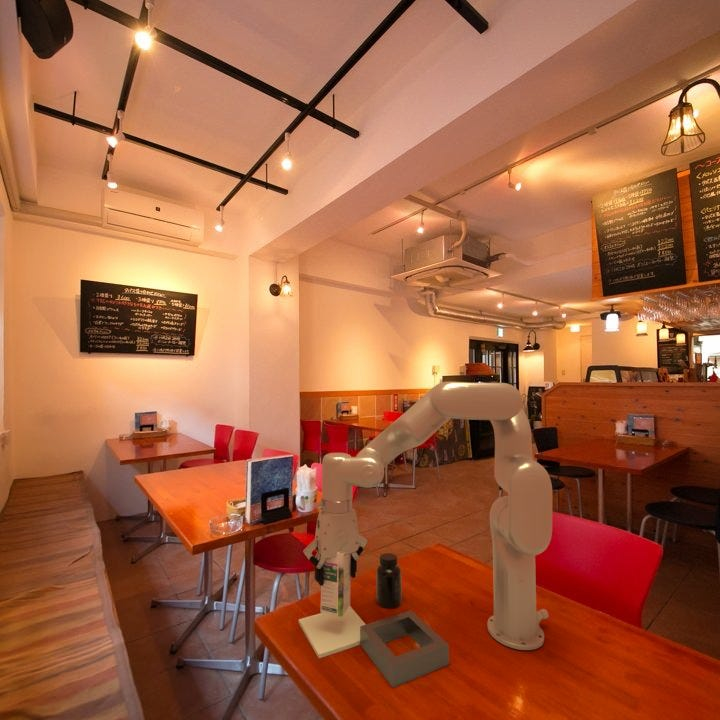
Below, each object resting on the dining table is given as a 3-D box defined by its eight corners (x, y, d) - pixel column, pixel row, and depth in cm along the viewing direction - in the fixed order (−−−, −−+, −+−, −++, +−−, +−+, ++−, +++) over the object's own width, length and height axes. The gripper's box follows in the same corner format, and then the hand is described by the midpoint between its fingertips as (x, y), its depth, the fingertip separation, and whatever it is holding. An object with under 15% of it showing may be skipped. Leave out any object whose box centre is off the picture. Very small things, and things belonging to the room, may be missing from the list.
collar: (410, 627, 94) (410, 610, 94) (448, 664, 81) (448, 644, 82) (360, 644, 87) (360, 626, 88) (392, 687, 75) (392, 666, 75)
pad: (349, 608, 102) (349, 605, 102) (375, 639, 89) (375, 635, 89) (298, 622, 95) (298, 619, 95) (318, 658, 83) (318, 654, 83)
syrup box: (319, 612, 91) (320, 549, 92) (329, 599, 96) (330, 540, 97) (341, 617, 89) (342, 553, 90) (351, 604, 94) (351, 543, 95)
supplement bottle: (395, 593, 109) (395, 549, 110) (405, 606, 103) (405, 560, 104) (372, 597, 107) (372, 552, 108) (381, 611, 101) (381, 563, 101)
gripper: (308, 514, 87) (306, 595, 86) (375, 504, 95) (374, 578, 94) (298, 505, 94) (296, 580, 92) (361, 496, 102) (360, 565, 100)
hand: (336, 578), depth 93 cm, fingers closed on syrup box, 7 cm apart
